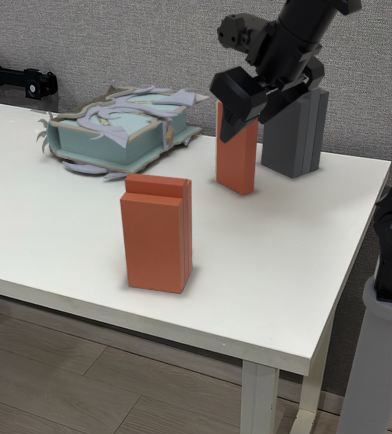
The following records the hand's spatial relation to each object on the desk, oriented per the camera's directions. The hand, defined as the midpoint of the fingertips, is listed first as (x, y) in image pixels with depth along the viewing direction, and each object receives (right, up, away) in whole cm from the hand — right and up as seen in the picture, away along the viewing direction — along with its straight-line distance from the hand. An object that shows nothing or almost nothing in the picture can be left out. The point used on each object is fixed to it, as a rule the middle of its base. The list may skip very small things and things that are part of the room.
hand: (242, 131), depth 78 cm
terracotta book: (0, -3, +16) cm, 16 cm away
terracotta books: (-11, -21, -5) cm, 24 cm away
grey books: (+10, +2, +22) cm, 25 cm away
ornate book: (-20, +7, +29) cm, 36 cm away
